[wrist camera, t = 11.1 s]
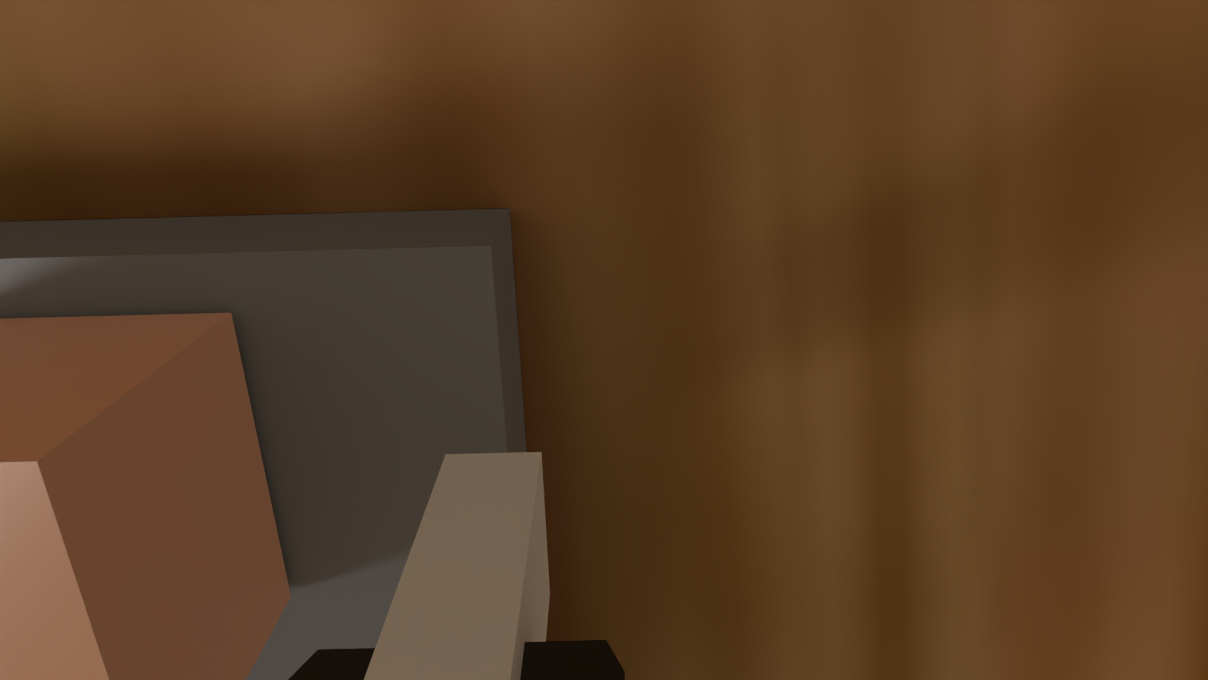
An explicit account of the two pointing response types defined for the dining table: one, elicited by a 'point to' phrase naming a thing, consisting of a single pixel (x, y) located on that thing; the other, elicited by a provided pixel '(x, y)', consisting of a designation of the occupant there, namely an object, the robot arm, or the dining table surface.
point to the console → (320, 370)
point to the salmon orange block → (132, 502)
